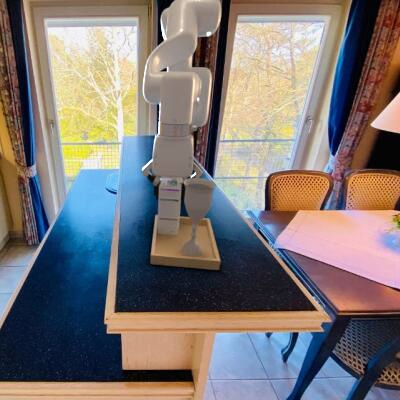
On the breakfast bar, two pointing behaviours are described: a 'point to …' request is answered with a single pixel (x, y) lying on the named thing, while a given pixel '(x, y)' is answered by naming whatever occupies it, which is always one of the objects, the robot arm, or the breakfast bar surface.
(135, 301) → the breakfast bar surface
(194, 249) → the chalice
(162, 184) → the syrup box
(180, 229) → the tray
